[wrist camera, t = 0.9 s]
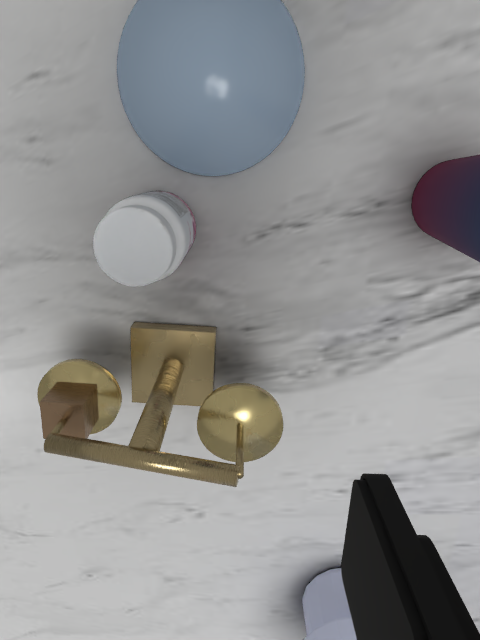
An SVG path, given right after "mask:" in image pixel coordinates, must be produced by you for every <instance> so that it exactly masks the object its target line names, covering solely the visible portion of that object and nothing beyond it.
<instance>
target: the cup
mask: <svg viewBox="0 0 480 640" xmlns="http://www.w3.org/2000/svg"><path fill="white" fill-rule="evenodd" d="M412 213H413V216H414V219H415V221H416V223H417V224H418V226H419V227H420V228H421V229H422V230H423V231H424V232H425V233H427V234H429V235H430V236H432V237H434V238H436V239H438V240H440V241H442V242H443V243H445V244H447V245H449V246H451V247H453V248H455V249H456V250H458V251H460V252H462V253H464V254H466V255H468V256H469V257H471V258H473V259H475V260H477V261H479V262H480V155H476V156H470V157H464V158H459V159H453V160H448V161H445V162H442V163H440V164H437V165H435V166H434V167H432V168H431V169H430V170H428V171H427V172H426V173H425V174H424V175H423V176H422V178H421V179H420V181H419V182H418V184H417V186H416V188H415V190H414V194H413V197H412Z"/></svg>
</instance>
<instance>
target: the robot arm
mask: <svg viewBox="0 0 480 640" xmlns="http://www.w3.org/2000/svg"><path fill="white" fill-rule="evenodd" d="M341 574H342V580H343V585H344V589H345V593H346V597H347V601H348V605H349V609H350V614H351V618H352V622H353V626H354V630H355V634H356V638H357V640H480V634H479V632H478V630H477V628H476V626H475V624H474V622H473V620H472V618H471V616H470V614H469V612H468V610H467V608H466V606H465V604H464V603H463V601H462V599H461V597H460V595H459V593H458V591H457V589H456V587H455V585H454V583H453V581H452V579H451V577H450V575H449V573H448V571H447V569H446V567H445V565H444V563H443V562H442V560H441V558H440V556H439V554H438V552H437V550H436V548H435V546H434V544H433V543H432V541H431V539H430V538H429V537H427V536H426V535H417V534H416V532H415V530H414V528H413V526H412V524H411V522H410V520H409V518H408V516H407V514H406V511H405V509H404V507H403V505H402V503H401V501H400V499H399V497H398V495H397V493H396V491H395V489H394V486H393V484H392V482H391V480H390V478H389V477H388V475H386V474H362V476H361V479H360V480H354V482H353V487H352V493H351V500H350V507H349V514H348V521H347V528H346V535H345V542H344V548H343V555H342V562H341Z"/></svg>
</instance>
